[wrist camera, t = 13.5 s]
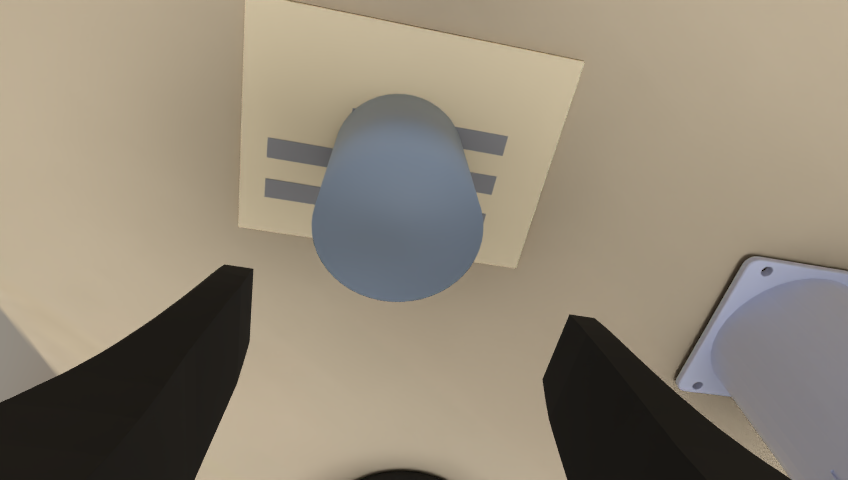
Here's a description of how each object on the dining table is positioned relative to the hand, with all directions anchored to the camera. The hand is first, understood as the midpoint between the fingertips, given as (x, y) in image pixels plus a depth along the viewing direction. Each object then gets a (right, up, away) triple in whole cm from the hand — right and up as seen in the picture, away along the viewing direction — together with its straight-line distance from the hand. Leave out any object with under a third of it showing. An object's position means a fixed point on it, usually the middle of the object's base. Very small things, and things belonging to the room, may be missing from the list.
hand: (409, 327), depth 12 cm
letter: (-1, +6, +9) cm, 10 cm away
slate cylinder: (-1, +5, +9) cm, 10 cm away
